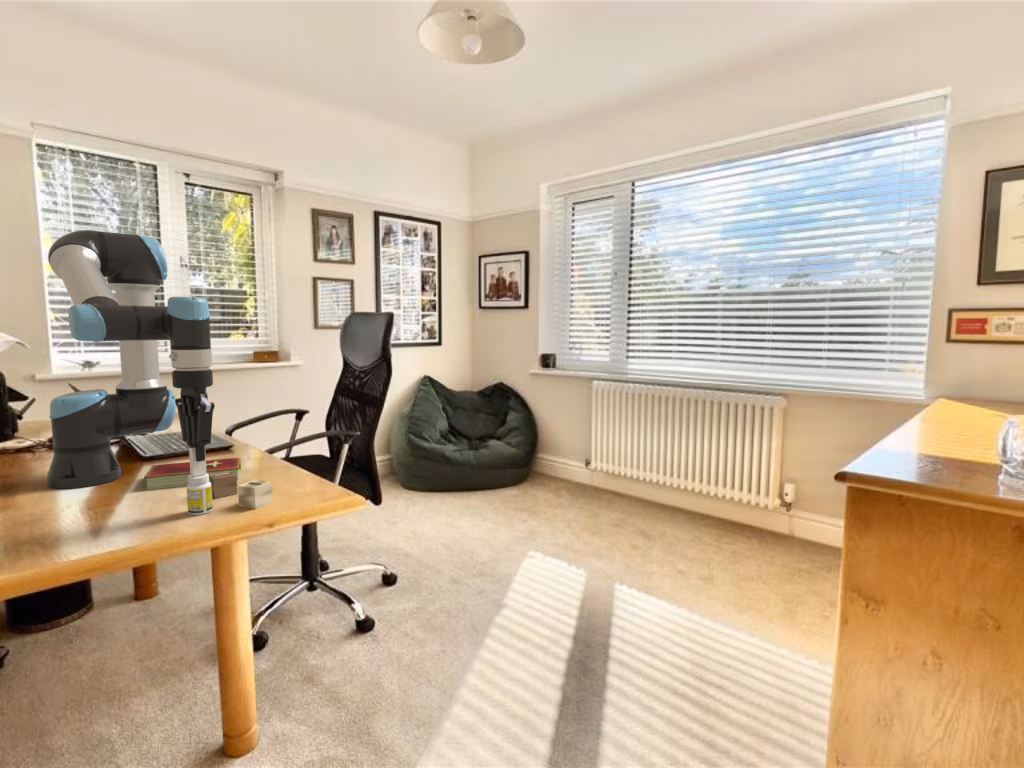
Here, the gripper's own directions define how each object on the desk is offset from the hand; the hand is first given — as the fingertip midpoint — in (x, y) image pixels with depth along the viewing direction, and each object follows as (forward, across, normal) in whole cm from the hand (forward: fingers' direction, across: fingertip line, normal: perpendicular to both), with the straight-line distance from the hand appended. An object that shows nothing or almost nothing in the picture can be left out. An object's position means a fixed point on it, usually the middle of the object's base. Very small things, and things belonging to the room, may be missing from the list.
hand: (198, 474), depth 117 cm
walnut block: (+9, -8, +9) cm, 15 cm away
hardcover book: (+9, -26, +11) cm, 30 cm away
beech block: (+9, +5, +10) cm, 14 cm away
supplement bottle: (+9, 0, 0) cm, 9 cm away
